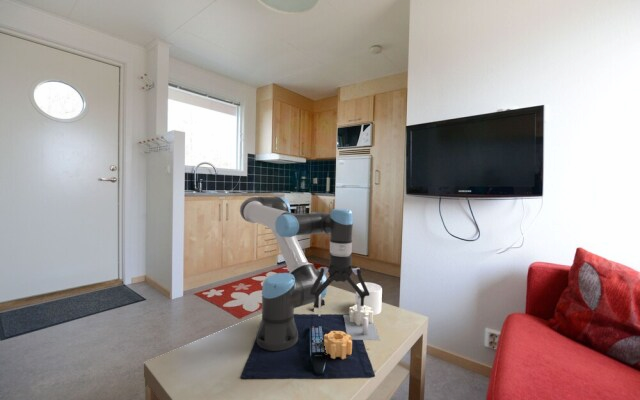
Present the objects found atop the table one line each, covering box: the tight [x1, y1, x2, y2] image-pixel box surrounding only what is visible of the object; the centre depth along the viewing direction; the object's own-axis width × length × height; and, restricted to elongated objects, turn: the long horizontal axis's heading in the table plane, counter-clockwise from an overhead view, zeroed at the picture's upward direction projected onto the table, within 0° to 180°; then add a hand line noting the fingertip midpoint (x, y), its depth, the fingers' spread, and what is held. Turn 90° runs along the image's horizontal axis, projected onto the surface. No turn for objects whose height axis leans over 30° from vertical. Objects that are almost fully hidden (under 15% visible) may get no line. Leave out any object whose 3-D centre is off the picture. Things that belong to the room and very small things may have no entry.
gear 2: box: [348, 303, 374, 326], centre depth 113 cm, size 10×10×5 cm
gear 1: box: [323, 330, 353, 360], centre depth 94 cm, size 10×10×5 cm
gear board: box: [343, 306, 381, 341], centre depth 108 cm, size 12×19×8 cm, turn 0°
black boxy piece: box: [309, 298, 326, 313], centre depth 126 cm, size 12×7×5 cm, turn 141°
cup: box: [355, 281, 383, 316], centre depth 124 cm, size 12×12×12 cm
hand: (339, 314), depth 93 cm, fingers open, 13 cm apart
